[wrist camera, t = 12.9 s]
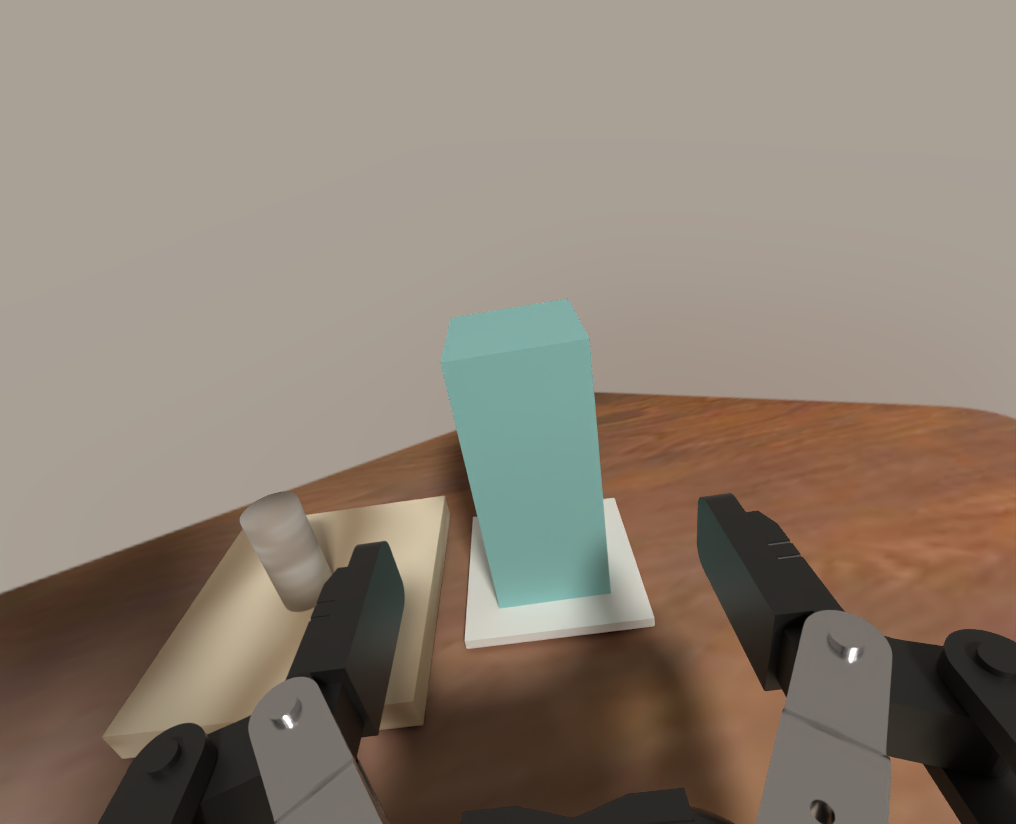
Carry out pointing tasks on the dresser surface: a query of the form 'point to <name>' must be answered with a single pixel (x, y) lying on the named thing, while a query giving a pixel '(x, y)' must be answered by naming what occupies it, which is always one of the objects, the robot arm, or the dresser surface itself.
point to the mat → (562, 616)
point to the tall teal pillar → (531, 449)
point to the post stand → (286, 616)
